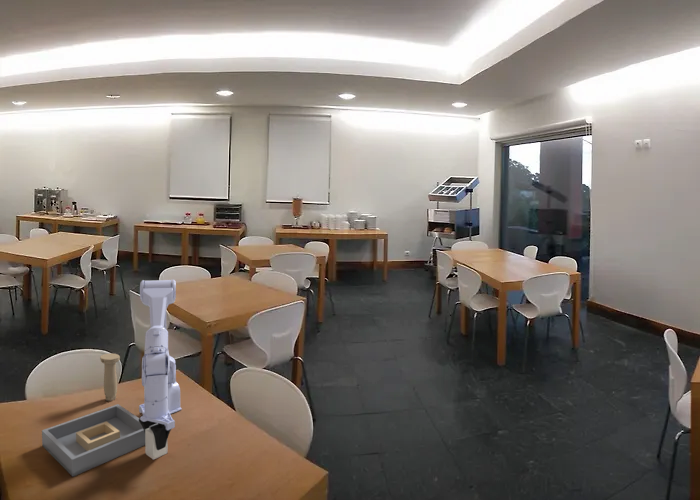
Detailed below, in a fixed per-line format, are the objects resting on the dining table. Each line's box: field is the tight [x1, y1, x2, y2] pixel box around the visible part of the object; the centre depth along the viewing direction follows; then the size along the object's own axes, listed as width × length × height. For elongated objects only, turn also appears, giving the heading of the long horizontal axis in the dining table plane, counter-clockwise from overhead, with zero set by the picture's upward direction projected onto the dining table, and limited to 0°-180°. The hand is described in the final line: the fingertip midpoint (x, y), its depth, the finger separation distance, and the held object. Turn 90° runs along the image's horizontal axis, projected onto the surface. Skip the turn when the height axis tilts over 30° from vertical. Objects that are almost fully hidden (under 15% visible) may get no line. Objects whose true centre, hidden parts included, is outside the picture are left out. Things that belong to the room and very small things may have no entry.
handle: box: [99, 353, 121, 402], centre depth 141 cm, size 5×6×15 cm
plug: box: [144, 423, 169, 461], centre depth 114 cm, size 4×4×8 cm
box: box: [41, 403, 145, 477], centre depth 117 cm, size 20×20×4 cm
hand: (156, 444), depth 114 cm, fingers closed on plug, 4 cm apart
